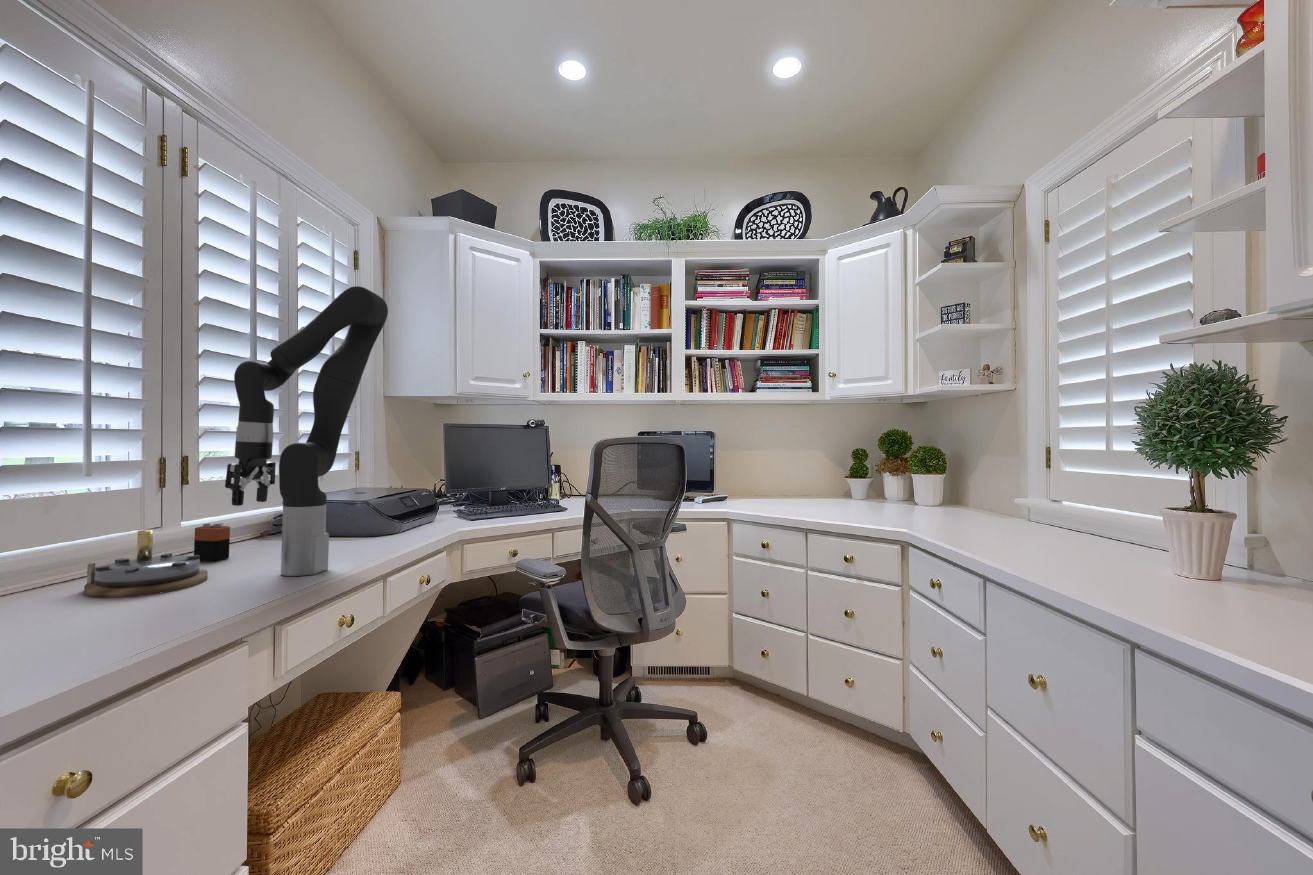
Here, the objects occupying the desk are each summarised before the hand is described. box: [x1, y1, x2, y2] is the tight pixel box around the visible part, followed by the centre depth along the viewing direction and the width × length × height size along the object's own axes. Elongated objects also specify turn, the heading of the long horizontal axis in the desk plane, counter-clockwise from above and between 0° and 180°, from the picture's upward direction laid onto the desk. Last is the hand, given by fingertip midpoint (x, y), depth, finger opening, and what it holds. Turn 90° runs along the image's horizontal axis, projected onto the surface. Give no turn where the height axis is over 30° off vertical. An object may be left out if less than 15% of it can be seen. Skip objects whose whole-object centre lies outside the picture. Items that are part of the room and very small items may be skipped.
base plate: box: [83, 562, 209, 599], centre depth 118 cm, size 20×20×6 cm
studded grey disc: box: [95, 529, 201, 587], centre depth 118 cm, size 17×17×10 cm
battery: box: [193, 522, 231, 563], centre depth 142 cm, size 4×7×10 cm, turn 85°
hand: (249, 503), depth 131 cm, fingers open, 8 cm apart
